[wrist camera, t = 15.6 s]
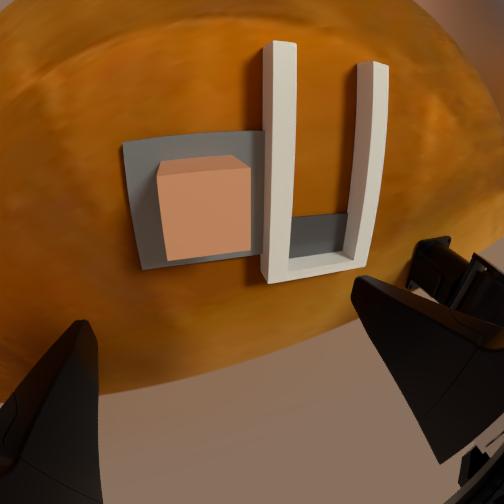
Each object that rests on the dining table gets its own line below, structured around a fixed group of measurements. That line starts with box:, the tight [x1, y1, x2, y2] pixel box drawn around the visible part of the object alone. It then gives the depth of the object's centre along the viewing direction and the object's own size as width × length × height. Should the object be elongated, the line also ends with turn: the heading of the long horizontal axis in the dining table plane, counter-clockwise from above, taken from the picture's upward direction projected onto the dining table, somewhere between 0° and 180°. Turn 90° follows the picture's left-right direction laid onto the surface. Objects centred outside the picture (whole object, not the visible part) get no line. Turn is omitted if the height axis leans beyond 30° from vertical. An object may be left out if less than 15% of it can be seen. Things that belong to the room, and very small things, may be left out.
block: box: [157, 155, 251, 261], centre depth 15 cm, size 4×4×4 cm
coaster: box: [123, 130, 265, 270], centre depth 18 cm, size 9×9×1 cm
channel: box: [260, 40, 389, 284], centre depth 18 cm, size 9×17×2 cm, turn 0°
